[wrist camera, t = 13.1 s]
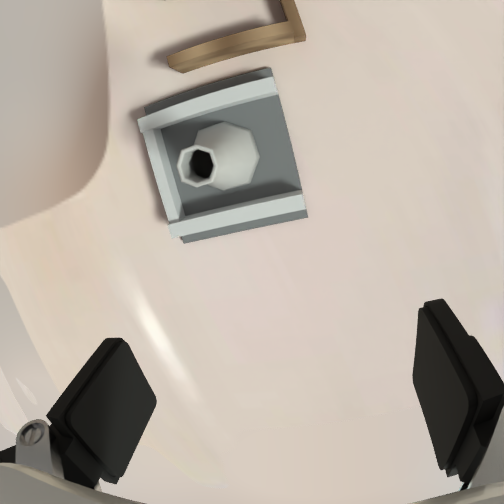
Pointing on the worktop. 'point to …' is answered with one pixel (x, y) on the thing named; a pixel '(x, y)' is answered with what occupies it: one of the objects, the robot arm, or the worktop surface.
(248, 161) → the flask
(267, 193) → the dock
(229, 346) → the worktop surface
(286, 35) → the wooden u-shaped bracket
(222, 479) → the worktop surface
